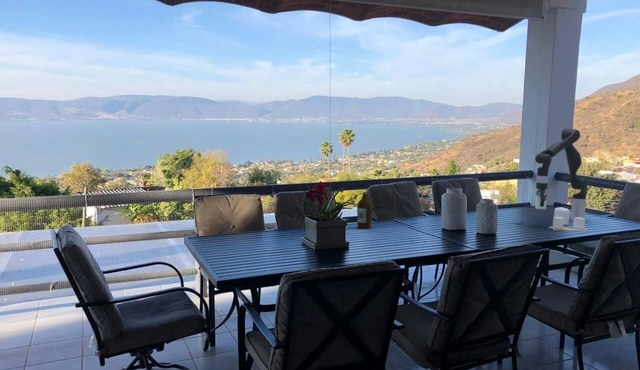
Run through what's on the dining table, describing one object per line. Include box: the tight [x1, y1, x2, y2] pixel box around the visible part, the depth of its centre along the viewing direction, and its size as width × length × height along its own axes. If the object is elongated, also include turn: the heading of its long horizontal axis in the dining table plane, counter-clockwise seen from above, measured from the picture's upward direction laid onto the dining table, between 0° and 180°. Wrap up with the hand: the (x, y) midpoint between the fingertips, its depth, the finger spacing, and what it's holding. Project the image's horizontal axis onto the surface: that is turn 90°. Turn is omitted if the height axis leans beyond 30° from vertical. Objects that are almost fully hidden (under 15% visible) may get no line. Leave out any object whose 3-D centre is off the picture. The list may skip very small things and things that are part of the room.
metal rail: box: [550, 226, 587, 229], centre depth 345 cm, size 4×22×1 cm, turn 86°
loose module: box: [534, 194, 548, 210], centre depth 351 cm, size 4×6×9 cm, turn 85°
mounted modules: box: [552, 216, 586, 229], centre depth 344 cm, size 6×19×7 cm, turn 86°
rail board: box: [549, 226, 589, 232], centre depth 345 cm, size 10×22×1 cm, turn 86°
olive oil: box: [356, 191, 373, 230], centre depth 345 cm, size 11×11×25 cm
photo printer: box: [553, 206, 570, 226], centre depth 364 cm, size 10×4×12 cm, turn 39°
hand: (540, 205), depth 351 cm, fingers closed on loose module, 4 cm apart
